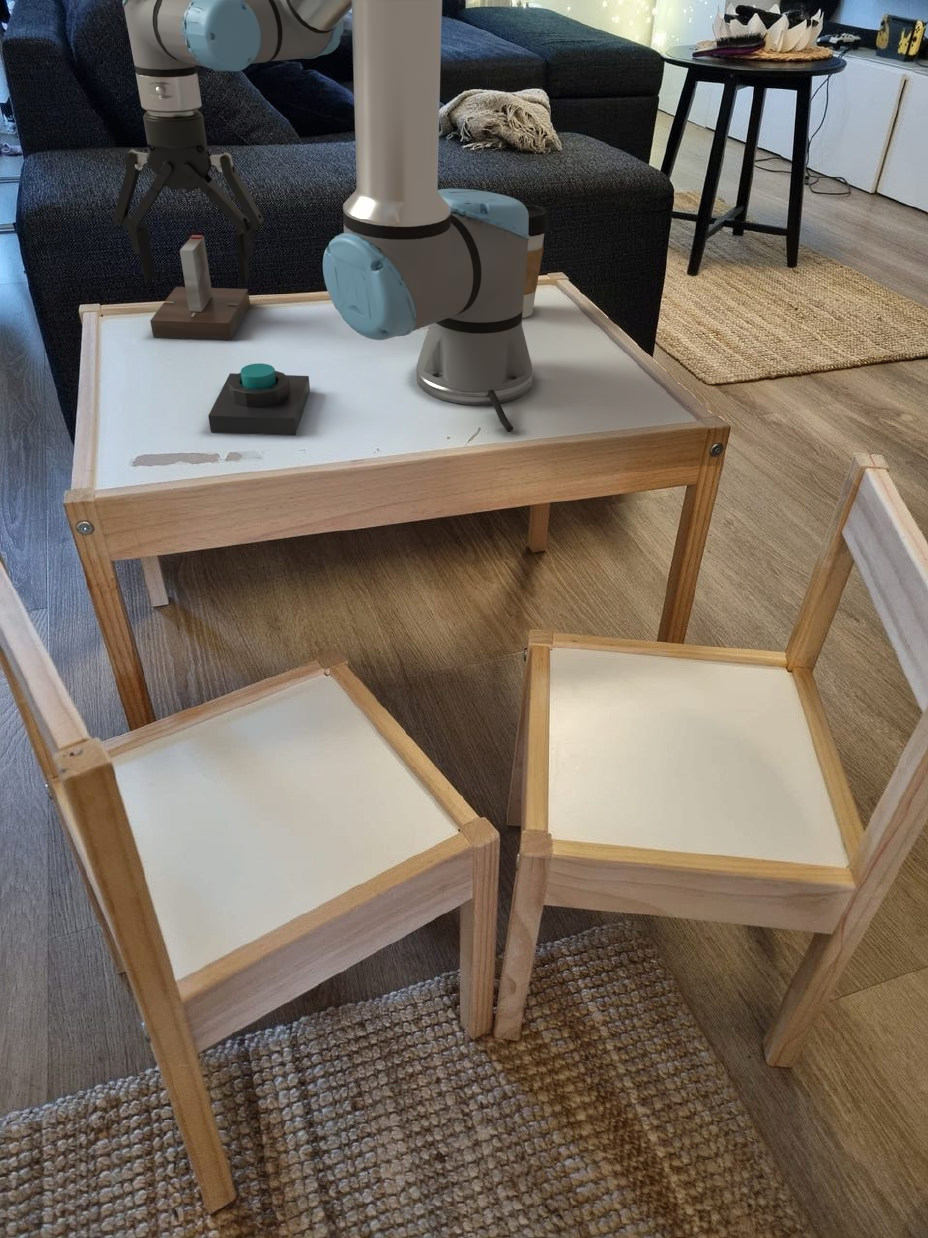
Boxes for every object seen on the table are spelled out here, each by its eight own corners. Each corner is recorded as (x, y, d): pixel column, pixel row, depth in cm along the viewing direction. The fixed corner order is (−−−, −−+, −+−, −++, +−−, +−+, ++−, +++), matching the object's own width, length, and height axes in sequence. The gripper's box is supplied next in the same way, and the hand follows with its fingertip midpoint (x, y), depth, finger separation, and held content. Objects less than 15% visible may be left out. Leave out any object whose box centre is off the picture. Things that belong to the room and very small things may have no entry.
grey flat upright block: (201, 311, 131) (192, 248, 126) (189, 311, 131) (179, 248, 126) (212, 296, 136) (203, 234, 131) (200, 295, 136) (191, 234, 131)
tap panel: (231, 340, 130) (228, 321, 128) (153, 337, 130) (149, 319, 128) (250, 305, 141) (248, 287, 139) (178, 302, 141) (175, 285, 139)
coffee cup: (541, 322, 139) (550, 218, 130) (486, 320, 139) (490, 215, 130) (539, 303, 145) (547, 202, 136) (486, 301, 145) (490, 200, 136)
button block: (295, 435, 108) (292, 403, 106) (210, 432, 108) (205, 401, 106) (310, 391, 118) (307, 361, 115) (232, 389, 118) (228, 359, 115)
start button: (273, 391, 109) (271, 377, 108) (239, 390, 109) (237, 376, 108) (278, 377, 112) (277, 363, 111) (245, 376, 112) (244, 362, 111)
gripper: (65, 113, 115) (102, 283, 129) (263, 119, 116) (280, 289, 129) (85, 102, 121) (118, 266, 134) (274, 108, 121) (289, 272, 135)
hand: (197, 278), depth 132 cm, fingers open, 13 cm apart
